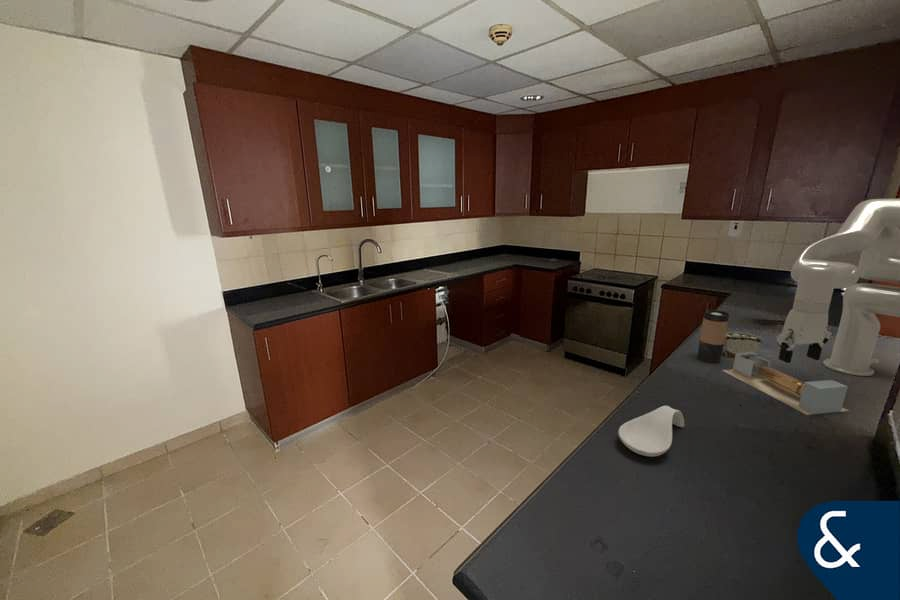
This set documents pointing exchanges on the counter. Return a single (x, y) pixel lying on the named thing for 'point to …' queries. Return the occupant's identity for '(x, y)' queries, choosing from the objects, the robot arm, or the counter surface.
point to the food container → (741, 343)
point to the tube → (781, 379)
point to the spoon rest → (651, 431)
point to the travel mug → (712, 336)
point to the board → (774, 391)
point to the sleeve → (749, 365)
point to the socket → (823, 396)
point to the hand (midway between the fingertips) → (798, 359)
